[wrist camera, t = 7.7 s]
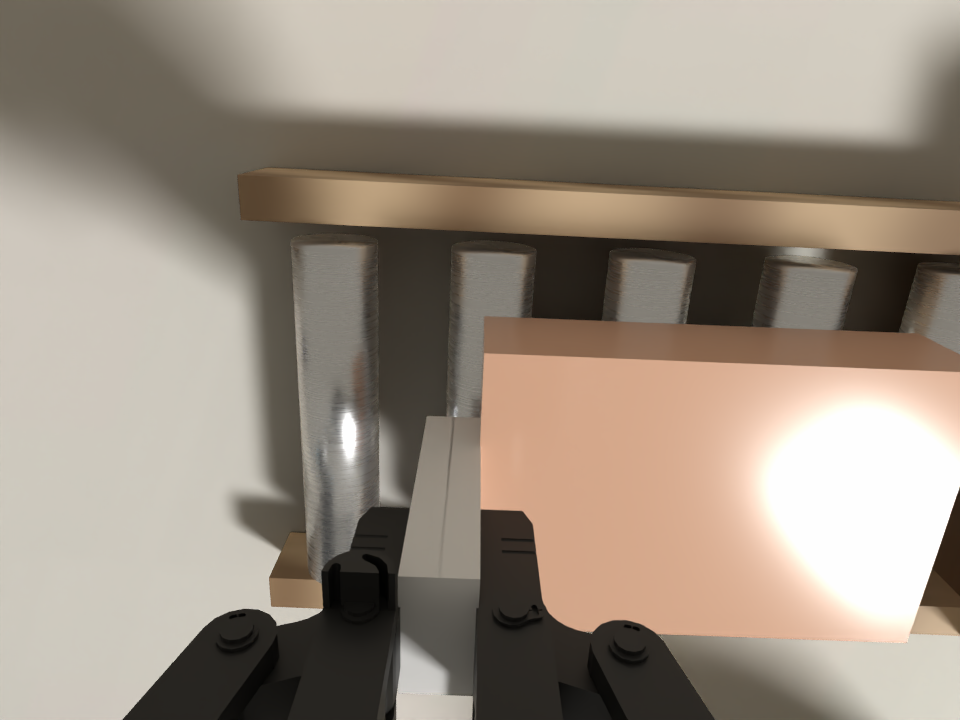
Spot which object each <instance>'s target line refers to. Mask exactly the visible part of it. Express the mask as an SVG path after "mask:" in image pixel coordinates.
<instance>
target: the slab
mask: <svg viewBox="0 0 960 720" xmlns="http://www.w3.org/2000/svg"><path fill="white" fill-rule="evenodd" d="M480 446H481V509H485V510H513V511H523V512H524V514H525V515H526V516H527V517H528V519H529V520H530V521H531V522H532V524H533V529H534V537H535V545H536V555H537V561H538V569H539V577H540V585H541V594H542V600H543V603H544V605H545V606H546V608H547V611H548V612H549V614H550V615H552V616H553V617H554V618H555V619H556V620H557V621H559V622H560V623H562V624H564V625H565V626H568V627H570V628H573V629H576V630H579V631H587V632H593V631H594V630H595V629H596V628H597V627H598V626H600V625H601V624H603V623H606V622H609V621H612V620H628V621H632V622H635V623H639V624H642V625H644V626H645V627H647V628H649V629H650V630H652V631H654V632H655V633H656V634H670V635H698V636H726V637H753V638H781V639H809V640H837V641H864V642H892V643H907V640H908V637H909V635H910V632H911V629H912V626H913V623H914V620H915V617H916V614H917V611H918V608H919V605H920V602H921V599H922V596H923V593H924V590H925V587H926V584H927V581H928V578H929V575H930V572H931V569H932V566H933V564H934V561H935V558H936V555H937V552H938V549H939V546H940V543H941V540H942V537H943V534H944V531H945V528H946V525H947V522H948V519H949V516H950V513H951V510H952V507H953V504H954V501H955V498H956V496H957V493H958V490H959V487H960V354H958V353H956V352H954V351H952V350H950V349H948V348H946V347H944V346H942V345H940V344H938V343H936V342H934V341H932V340H930V339H928V338H926V337H924V336H922V335H920V334H918V333H893V332H868V331H843V330H818V329H793V328H768V327H743V326H718V325H693V324H668V323H643V322H618V321H593V320H568V319H543V318H518V317H493V316H484V331H483V354H482V377H481V400H480Z"/></svg>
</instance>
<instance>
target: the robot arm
mask: <svg viewBox="0 0 960 720" xmlns="http://www.w3.org/2000/svg"><path fill="white" fill-rule="evenodd" d="M321 579H322V597H323V610H322V611H321V612H320V613H319V614H317V615H314V616H312V617H310V618H308V619H305V620H302V621H298V622H294V623H289V624H284V625H280V626H276V622H275V620H274V619H273V618H272V617H271V616H270V614H267V613H265V612H263V611H260V610H254V609H241V610H236V611H231V612H228V613H226V614H224V615H221V616H219V617H217V618H215V619H214V620H213V621H211V622H210V623H209V624H208V625H207V626H205V627H204V628H203V629H202V630H201V631H200V633H199V634H198V635H197V636H196V637H195V638H194V639H193V640H192V642H191V643H190V644H189V645H188V646H187V647H186V648H185V650H184V651H183V652H182V653H181V654H180V655H179V656H178V657H177V659H176V660H175V661H174V662H173V663H172V664H171V665H170V666H169V668H168V669H167V670H166V671H165V672H164V673H163V674H162V676H161V677H160V678H159V679H158V680H157V681H156V682H155V683H154V685H153V686H152V687H151V688H150V689H149V690H148V691H147V693H146V694H145V695H144V696H143V697H142V698H141V699H140V700H139V702H138V703H137V704H136V705H135V706H134V707H133V708H132V709H131V711H130V712H129V713H128V714H127V715H126V716H125V717H124V719H123V720H396V695H397V688H398V693H402V694H432V695H461V696H473V713H472V720H715V719H714V718H713V716H712V715H711V713H710V712H709V710H708V709H707V707H706V706H705V704H704V702H703V701H702V699H701V698H700V696H699V695H698V693H697V692H696V690H695V689H694V687H693V686H692V684H691V683H690V681H689V680H688V678H687V677H686V675H685V674H684V672H683V671H682V669H681V668H680V666H679V664H678V663H677V661H676V660H675V658H674V657H673V655H672V654H671V652H670V651H669V649H668V648H667V646H666V645H665V643H664V642H663V641H662V640H661V638H660V637H659V636H658V635H657V634H656V633H655V632H654V631H652V630H650V629H649V628H647V627H645V626H644V625H642V624H639V623H635V622H632V621H628V620H612V621H609V622H606V623H603V624H601V625H600V626H598V627H597V628H596V629H595V630H594V631H593V634H589V633H586V632H582V631H579V630H576V629H573V628H570V627H568V626H565V625H564V624H562V623H560V622H559V621H557V620H556V619H555V618H554V617H553V616H552V615H550V614H549V612H548V611H547V608H546V606H545V605H544V603H543V600H542V594H541V585H540V577H539V569H538V561H537V555H536V545H535V537H534V529H533V524H532V522H531V521H530V520H529V519H528V517H527V516H526V515H525V514H524V512H523V511H513V510H485V509H481V446H480V418H471V417H445V416H427V419H426V424H425V430H424V435H423V441H422V446H421V452H420V457H419V463H418V468H417V473H416V479H415V484H414V490H413V495H412V501H411V506H410V508H388V507H371V508H370V509H369V510H368V511H367V512H366V513H365V514H364V515H363V516H362V517H361V518H360V519H359V520H358V524H357V527H356V530H355V534H354V537H353V540H352V544H351V548H350V550H349V551H348V552H345V553H342V554H339V555H337V556H335V557H334V558H332V559H331V560H329V561H328V562H327V563H326V564H325V566H324V567H323V569H322V570H321Z"/></svg>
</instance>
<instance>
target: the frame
mask: <svg viewBox="0 0 960 720" xmlns="http://www.w3.org/2000/svg"><path fill="white" fill-rule="evenodd" d="M237 177H238V190H239V203H240V215H241V220H250V221H271V222H291V223H312V224H332V225H353V226H373V227H394V228H414V229H435V230H455V231H476V232H496V233H517V234H537V235H558V236H578V237H599V238H619V239H640V240H660V241H681V242H701V243H722V244H742V245H763V246H783V247H804V248H824V249H845V250H865V251H886V252H906V253H927V254H947V255H960V202H953V201H933V200H913V199H893V198H873V197H853V196H832V195H812V194H792V193H772V192H752V191H732V190H712V189H691V188H671V187H651V186H631V185H611V184H591V183H571V182H551V181H530V180H510V179H490V178H470V177H450V176H430V175H410V174H390V173H369V172H349V171H329V170H309V169H289V168H269V167H267V168H263V169H259V170H255V171H251V172H247V173H243V174H239V175H237ZM269 584H270V597H271V606H272V607H296V608H319V609H323V597H322V584H321V583H319V582H317V581H316V580H314V579H313V578H312V577H311V575H310V574H309V571H308V559H307V540H306V533H296V532H290V534H289V536H288V538H287V540H286V542H285V545H284V547H283V549H282V551H281V553H280V555H279V558H278V560H277V562H276V564H275V566H274V568H273V570H272V573H271V575H270V577H269ZM910 634H931V635H954V636H960V487H959V490H958V493H957V496H956V498H955V501H954V504H953V507H952V510H951V513H950V516H949V519H948V522H947V525H946V528H945V531H944V534H943V537H942V540H941V543H940V546H939V549H938V552H937V555H936V558H935V561H934V564H933V566H932V569H931V572H930V575H929V578H928V581H927V584H926V587H925V590H924V593H923V596H922V599H921V602H920V605H919V608H918V611H917V614H916V617H915V620H914V623H913V626H912V629H911V632H910Z"/></svg>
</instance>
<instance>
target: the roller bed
mask: <svg viewBox="0 0 960 720" xmlns="http://www.w3.org/2000/svg"><path fill="white" fill-rule="evenodd" d="M291 257H292V276H293V295H294V314H295V333H296V352H297V370H298V389H299V408H300V427H301V446H302V464H303V483H304V502H305V521H306V540H307V559H308V571H309V574H310V575H311V577H312V578H313V579H314V580H316V581H317V582H319V583H321V584H322V579H321V570H322V569H323V567H324V566H325V564H326V563H327V562H328V561H329V560H331V559H332V558H334V557H335V556H337V555H339V554H342V553H345V552H348V551H349V550H350V548H351V544H352V540H353V537H354V534H355V530H356V527H357V524H358V520H359V519H360V518H361V517H362V516H363V515H364V514H365V513H366V512H367V511H368V510H369V509H370V508H371V507H380V489H379V341H378V241H377V240H376V239H375V238H372V237H368V236H364V235H357V234H345V233H319V234H308V235H302V236H297V237H294V238H292V239H291ZM535 264H536V249H535V248H533V247H530V246H527V245H523V244H519V243H513V242H504V241H488V240H478V241H465V242H459V243H456V244H453V245H452V252H451V282H450V313H449V344H448V375H447V405H446V417H471V418H480V400H481V377H482V354H483V331H484V316H493V317H518V318H531V315H532V302H533V289H534V276H535ZM695 266H696V259H695V258H694V257H692V256H689V255H686V254H683V253H678V252H673V251H668V250H661V249H651V248H619V249H614V250H612V251H610V255H609V263H608V272H607V280H606V289H605V297H604V306H603V314H602V321H618V322H643V323H668V324H686V321H687V315H688V309H689V303H690V297H691V291H692V285H693V278H694V272H695ZM857 271H858V270H857V268H855V267H854V266H851V265H849V264H845V263H842V262H838V261H833V260H828V259H822V258H816V257H808V256H797V255H773V256H768V257H766V258H765V261H764V266H763V271H762V276H761V281H760V286H759V291H758V296H757V301H756V306H755V310H754V315H753V320H752V325H751V327H768V328H793V329H818V330H843V326H844V322H845V318H846V314H847V310H848V306H849V302H850V298H851V294H852V290H853V286H854V282H855V278H856V274H857ZM899 333H918V334H920V335H922V336H924V337H926V338H928V339H930V340H932V341H934V342H936V343H938V344H940V345H942V346H944V347H946V348H948V349H950V350H952V351H954V352H956V353H958V354H960V264H954V263H941V262H924V263H919V264H918V266H917V270H916V273H915V277H914V280H913V284H912V287H911V291H910V294H909V298H908V301H907V305H906V308H905V312H904V316H903V319H902V323H901V326H900V330H899Z"/></svg>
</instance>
